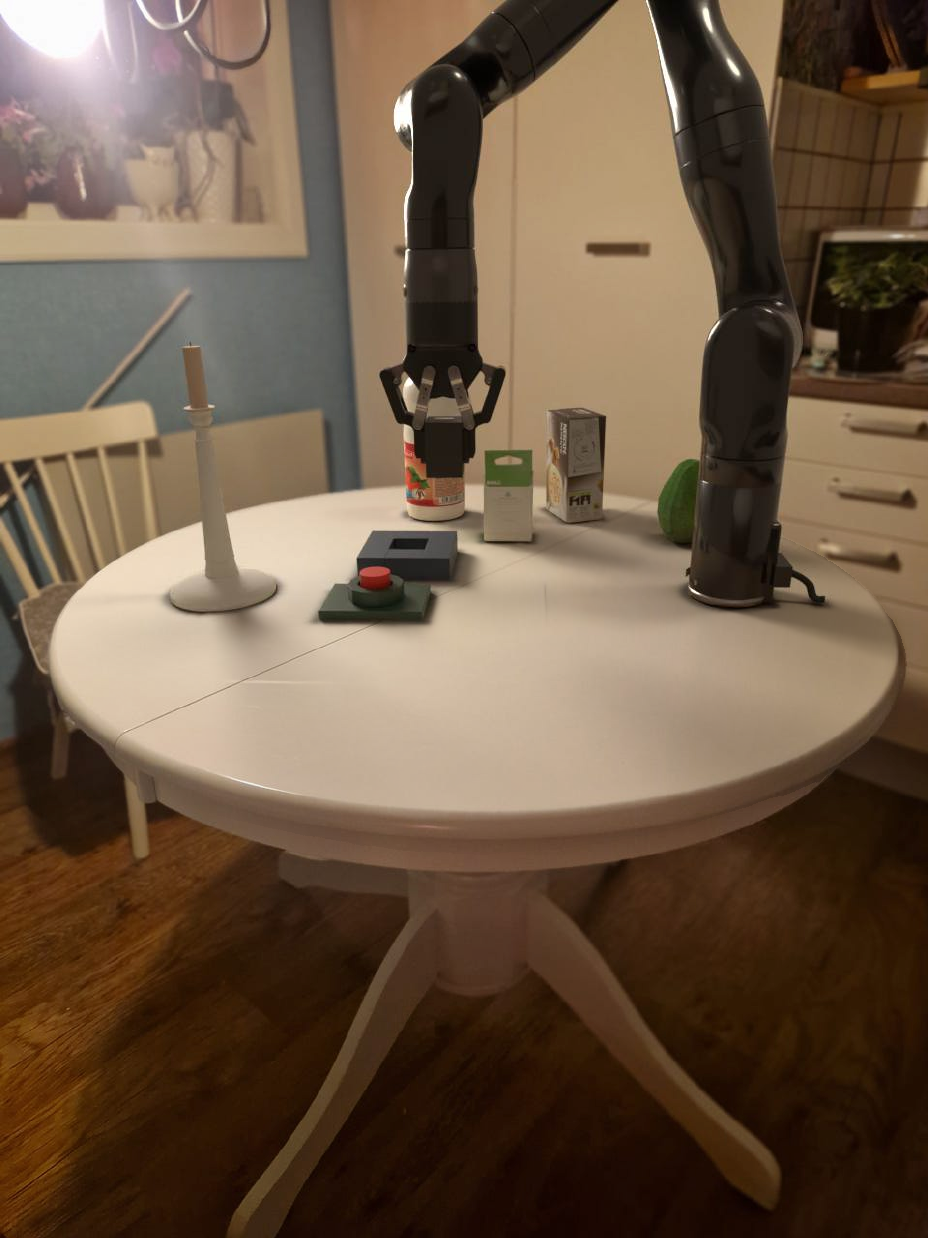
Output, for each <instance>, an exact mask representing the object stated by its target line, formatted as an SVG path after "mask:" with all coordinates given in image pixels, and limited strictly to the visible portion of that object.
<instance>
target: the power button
mask: <svg viewBox="0 0 928 1238" xmlns="http://www.w3.org/2000/svg"><path fill="white" fill-rule="evenodd" d="M359 573H360V587H361V588H365V589H381V588H387V587H389V586H391V576H390V570H389V569H388V568H385V567H368V568H364V569H362V570H361V571H360V572H359Z"/></svg>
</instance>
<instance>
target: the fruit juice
mask: <svg viewBox="0 0 928 1238" xmlns="http://www.w3.org/2000/svg"><path fill="white" fill-rule="evenodd" d="M418 395H419V390H418V388H417V387H416V386H415V384H414V383H413V382H412V380H411V379H410V378H409V376H408V377H407V378H406V380H405V383H404V384H403V388H402V396H403V398H404V401H405V404H406V407H407V409H408V411H409V412H412V413H415V409H416V404H417V399H418ZM428 416H461V414H460V411H459V409H458V406H457V402H456V399H450V398H446V397H440V398H436V399H431V401H430V405H429V408H428V413H427V417H426V419H427V418H428ZM403 449H404V452H403V453H404V472H405V473H404V475H405V495H406V497H405V499H406V510H407V514H408V516H409V517H410V518H413V519H415V520H419V521H426V522H429V521H430V522H440V521H448V520H454V519H457V518H460V517H462V515H464V513H465V510H466V482H465V481H466V479H465V470H464V474H463V478H426V464H421V458H416V456H415V454H414V431H413V429H412V428H411V427H410V426H408V425H405V424H403Z"/></svg>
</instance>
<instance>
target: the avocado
mask: <svg viewBox="0 0 928 1238" xmlns="http://www.w3.org/2000/svg"><path fill="white" fill-rule="evenodd" d="M699 464H700V459H696V458H688V459H684V460H682V461H681V462H679V463H678V464H677V465H676V467H675V468H674V469H673V471H672V473H671V474H670V476H669V478H668V479H667V480H666V482H665V484H664V486H663V488H662V490H661V492H660V495H659V497H658V501H657V502H658V503H657V509H656V510H657V511H656V514H657V518H658V522H659V527H660V529H661V531H662V533H663V534H664V535H665V537H666V538H667V539H669V540H670V541H672V542H674V543H678V544H682V545H683V544H690V543H691V544H692V542H693V530H694V519H695V508H696V497H697V486H698V475H699Z"/></svg>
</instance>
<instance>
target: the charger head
mask: <svg viewBox="0 0 928 1238" xmlns="http://www.w3.org/2000/svg"><path fill="white" fill-rule="evenodd" d="M463 427H464V425H463V422H462V418H461V415H460V416H428V418H427V419H426V421H425V454H426V478H463V474H464V471H465V470H466V469H465V468H466V467H465V466H466V464H463Z"/></svg>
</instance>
